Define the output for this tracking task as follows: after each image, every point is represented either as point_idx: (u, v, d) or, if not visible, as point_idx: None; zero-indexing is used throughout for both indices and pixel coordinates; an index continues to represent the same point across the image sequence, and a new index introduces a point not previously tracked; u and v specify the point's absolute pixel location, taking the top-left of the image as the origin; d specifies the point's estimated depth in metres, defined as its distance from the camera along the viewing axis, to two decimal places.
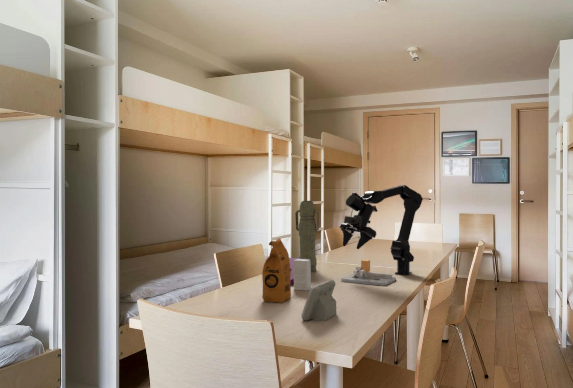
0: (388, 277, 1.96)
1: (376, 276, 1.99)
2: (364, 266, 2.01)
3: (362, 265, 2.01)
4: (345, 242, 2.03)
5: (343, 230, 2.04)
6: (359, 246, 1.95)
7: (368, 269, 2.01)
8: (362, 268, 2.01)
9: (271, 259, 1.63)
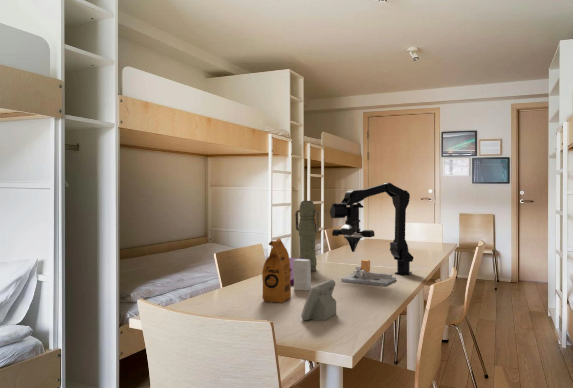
0: (388, 277, 1.96)
1: (376, 276, 1.99)
2: (364, 266, 2.01)
3: (362, 265, 2.01)
4: None
5: (347, 238, 2.04)
6: (354, 249, 2.05)
7: (368, 269, 2.01)
8: (362, 268, 2.01)
9: (271, 259, 1.63)
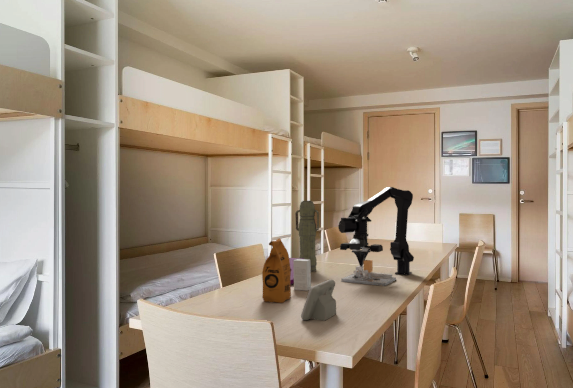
0: (388, 277, 1.96)
1: (376, 276, 1.99)
2: (367, 266, 2.00)
3: (364, 265, 2.01)
4: None
5: (355, 252, 2.02)
6: (362, 263, 2.03)
7: (370, 269, 2.01)
8: (364, 268, 2.01)
9: (271, 259, 1.63)
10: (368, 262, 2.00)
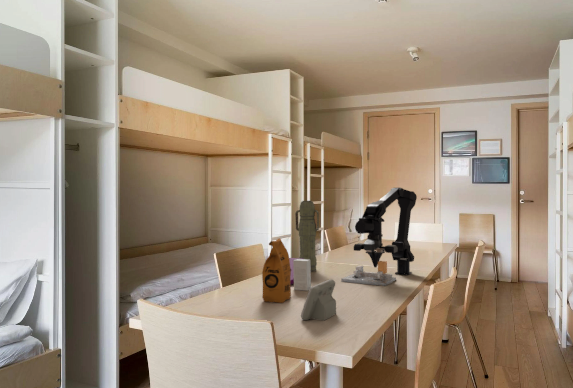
0: (388, 277, 1.96)
1: (376, 276, 1.99)
2: (381, 267, 1.97)
3: (379, 266, 1.97)
4: None
5: (369, 253, 1.99)
6: (377, 264, 2.00)
7: (385, 270, 1.97)
8: (379, 269, 1.97)
9: (271, 259, 1.63)
10: (383, 263, 1.96)
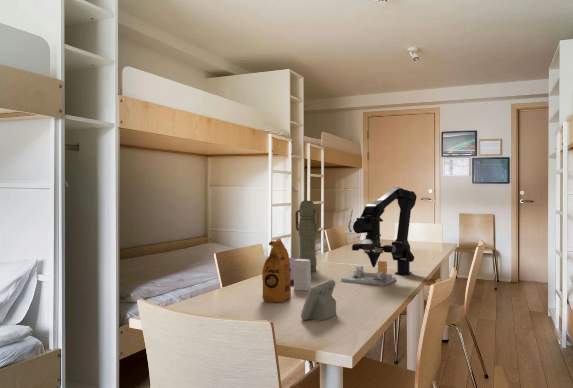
0: (388, 277, 1.96)
1: (376, 276, 1.99)
2: (381, 267, 1.97)
3: (379, 266, 1.97)
4: None
5: (368, 253, 1.99)
6: (375, 264, 2.00)
7: (385, 270, 1.97)
8: (379, 269, 1.97)
9: (271, 259, 1.63)
10: (383, 263, 1.96)
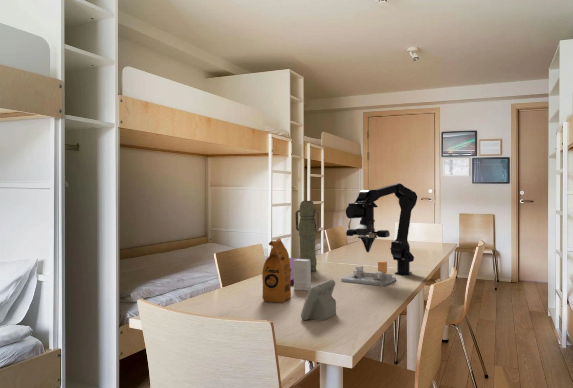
0: (388, 277, 1.96)
1: (376, 276, 1.99)
2: (381, 267, 1.97)
3: (379, 266, 1.97)
4: None
5: (362, 238, 2.01)
6: (369, 249, 2.02)
7: (385, 270, 1.97)
8: (379, 269, 1.97)
9: (271, 259, 1.63)
10: (383, 263, 1.96)
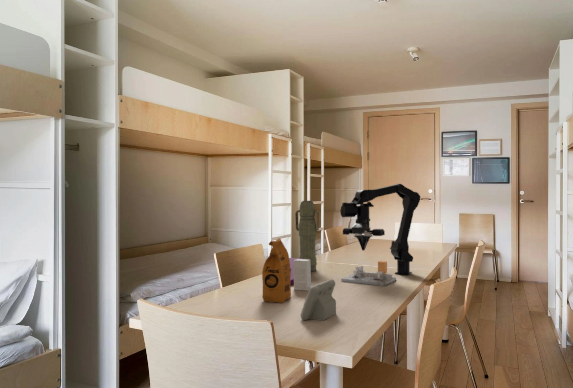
0: (388, 277, 1.96)
1: (376, 276, 1.99)
2: (381, 267, 1.97)
3: (379, 266, 1.97)
4: None
5: (358, 237, 2.07)
6: (365, 247, 2.08)
7: (385, 270, 1.97)
8: (379, 269, 1.97)
9: (271, 259, 1.63)
10: (383, 263, 1.96)
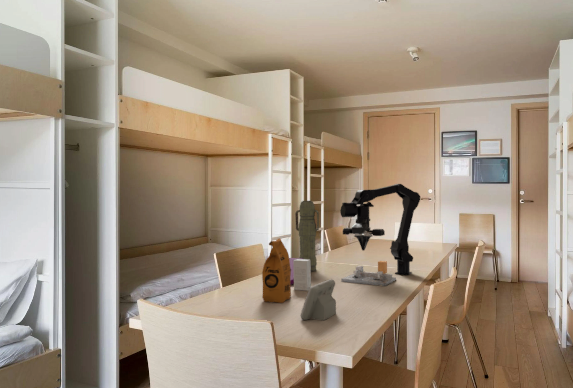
0: (388, 277, 1.96)
1: (376, 276, 1.99)
2: (381, 267, 1.97)
3: (379, 266, 1.97)
4: None
5: (358, 237, 2.07)
6: (365, 247, 2.08)
7: (385, 270, 1.97)
8: (379, 269, 1.97)
9: (271, 259, 1.63)
10: (383, 263, 1.96)
